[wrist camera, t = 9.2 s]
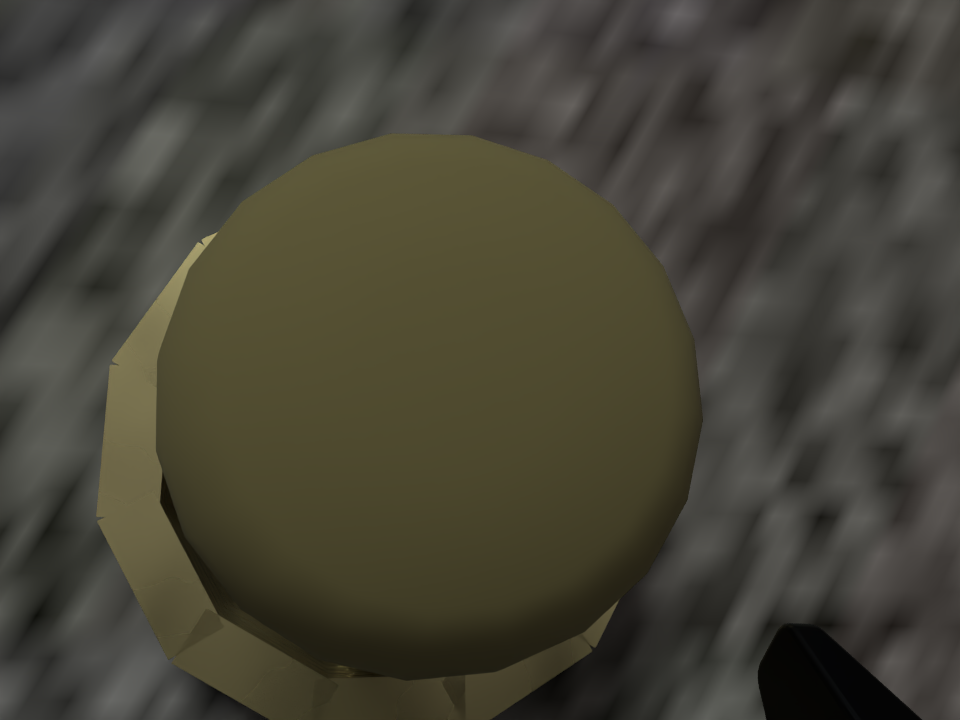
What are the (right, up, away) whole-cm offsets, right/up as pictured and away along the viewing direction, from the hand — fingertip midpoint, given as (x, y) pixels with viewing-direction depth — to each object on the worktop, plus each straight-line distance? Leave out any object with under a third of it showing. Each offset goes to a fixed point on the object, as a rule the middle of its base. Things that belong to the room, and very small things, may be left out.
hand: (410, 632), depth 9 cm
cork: (-1, +1, +8) cm, 8 cm away
